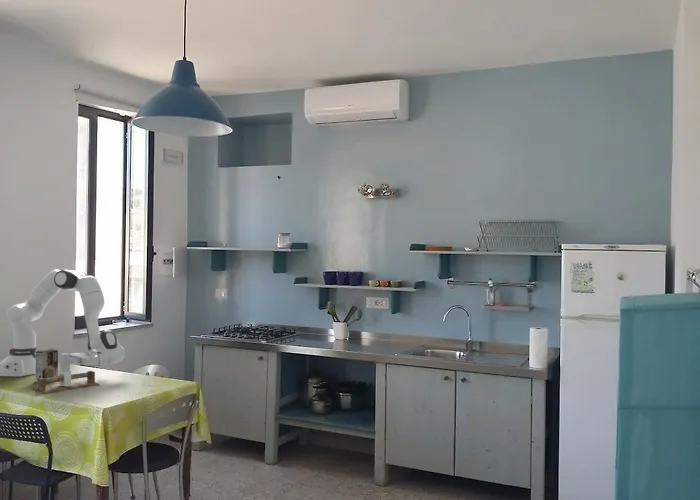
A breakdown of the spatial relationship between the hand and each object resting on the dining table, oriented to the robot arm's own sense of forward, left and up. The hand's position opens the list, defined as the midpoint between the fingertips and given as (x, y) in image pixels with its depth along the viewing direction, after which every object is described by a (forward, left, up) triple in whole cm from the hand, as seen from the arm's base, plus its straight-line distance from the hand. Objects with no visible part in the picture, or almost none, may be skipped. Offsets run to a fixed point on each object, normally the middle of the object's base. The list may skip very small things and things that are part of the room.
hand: (68, 360), depth 323 cm
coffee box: (-14, +17, -14) cm, 26 cm away
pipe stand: (0, 0, -13) cm, 13 cm away
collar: (-1, -1, -12) cm, 12 cm away
